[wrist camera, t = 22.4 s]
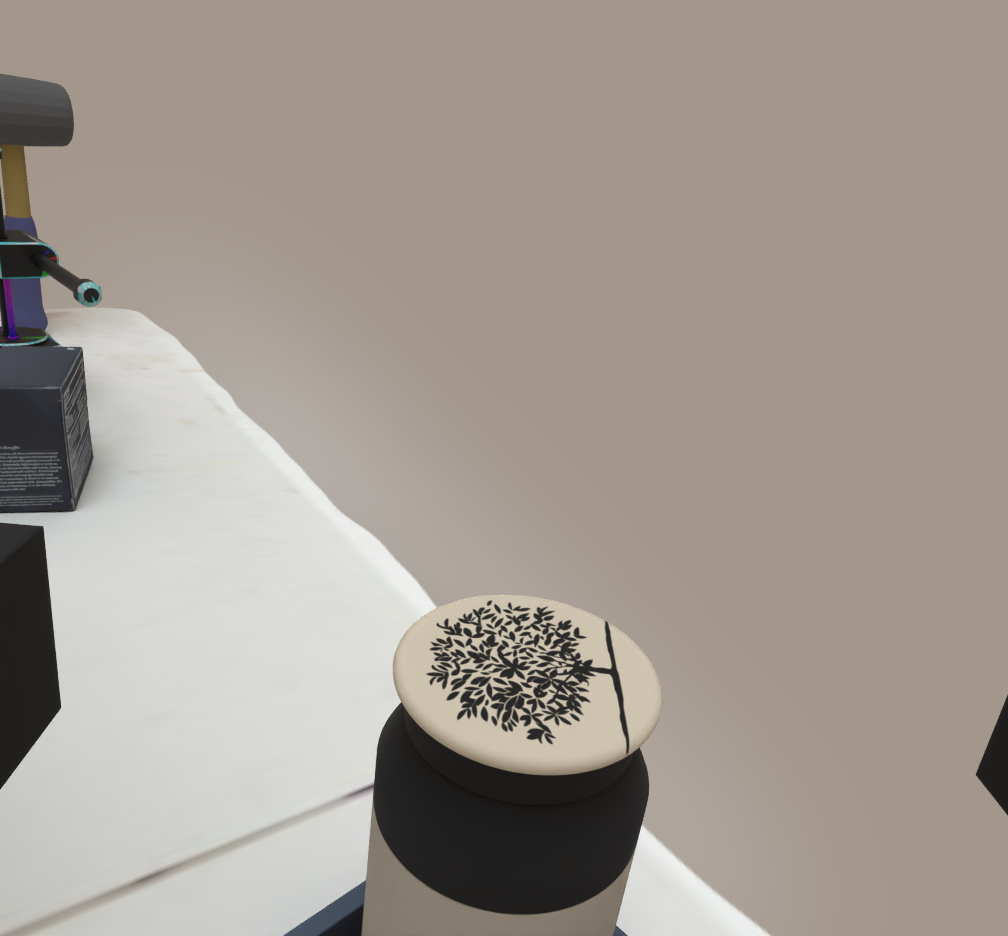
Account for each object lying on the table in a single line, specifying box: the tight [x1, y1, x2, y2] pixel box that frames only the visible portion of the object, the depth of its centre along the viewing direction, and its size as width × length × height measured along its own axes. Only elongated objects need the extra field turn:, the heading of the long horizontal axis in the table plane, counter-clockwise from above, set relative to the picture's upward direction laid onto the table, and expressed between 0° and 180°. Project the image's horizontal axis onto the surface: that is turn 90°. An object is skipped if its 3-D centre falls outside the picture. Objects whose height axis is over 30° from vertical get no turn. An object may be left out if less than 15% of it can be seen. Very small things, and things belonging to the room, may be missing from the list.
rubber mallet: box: [0, 74, 74, 331], centre depth 98 cm, size 12×8×30 cm, turn 132°
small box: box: [0, 346, 93, 512], centre depth 66 cm, size 11×6×10 cm, turn 17°
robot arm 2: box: [0, 148, 102, 349], centre depth 75 cm, size 25×9×24 cm, turn 42°
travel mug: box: [361, 595, 662, 936], centre depth 26 cm, size 8×8×18 cm
